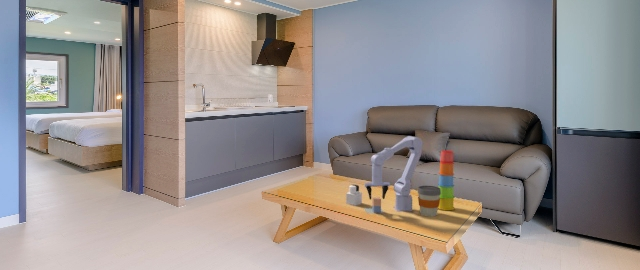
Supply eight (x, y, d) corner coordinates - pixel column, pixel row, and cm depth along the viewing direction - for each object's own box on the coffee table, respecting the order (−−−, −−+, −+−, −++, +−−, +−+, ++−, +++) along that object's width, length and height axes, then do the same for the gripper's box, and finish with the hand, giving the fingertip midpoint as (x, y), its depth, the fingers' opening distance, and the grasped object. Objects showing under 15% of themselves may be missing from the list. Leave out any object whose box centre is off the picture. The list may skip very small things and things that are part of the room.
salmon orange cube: (379, 203, 213) (379, 197, 213) (380, 205, 209) (381, 199, 209) (372, 204, 213) (372, 197, 212) (374, 206, 209) (374, 199, 208)
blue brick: (379, 210, 213) (379, 203, 213) (380, 212, 209) (380, 206, 209) (372, 210, 213) (372, 204, 212) (374, 213, 209) (374, 206, 208)
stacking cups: (433, 207, 220) (434, 151, 216) (443, 204, 226) (444, 149, 222) (448, 212, 211) (450, 153, 208) (458, 208, 218) (460, 151, 214)
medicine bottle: (352, 201, 233) (352, 183, 232) (361, 203, 229) (362, 185, 227) (346, 204, 228) (346, 185, 226) (355, 206, 223) (355, 187, 222)
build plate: (379, 208, 219) (379, 207, 219) (384, 213, 209) (384, 212, 209) (363, 208, 219) (363, 207, 218) (367, 213, 209) (367, 213, 209)
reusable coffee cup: (413, 211, 213) (413, 186, 212) (432, 209, 216) (433, 184, 215) (424, 218, 201) (424, 191, 199) (444, 216, 204) (445, 190, 202)
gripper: (387, 173, 213) (387, 196, 215) (363, 174, 212) (363, 197, 214) (390, 176, 206) (390, 199, 208) (365, 177, 205) (365, 200, 207)
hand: (376, 198), depth 210 cm, fingers open, 7 cm apart
